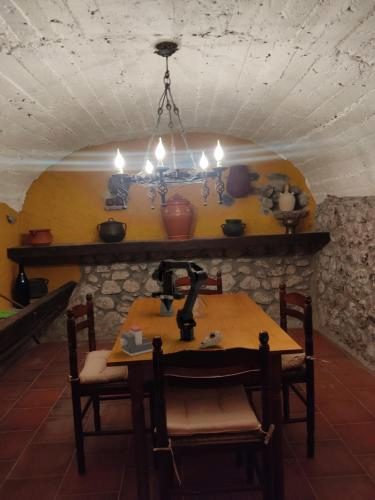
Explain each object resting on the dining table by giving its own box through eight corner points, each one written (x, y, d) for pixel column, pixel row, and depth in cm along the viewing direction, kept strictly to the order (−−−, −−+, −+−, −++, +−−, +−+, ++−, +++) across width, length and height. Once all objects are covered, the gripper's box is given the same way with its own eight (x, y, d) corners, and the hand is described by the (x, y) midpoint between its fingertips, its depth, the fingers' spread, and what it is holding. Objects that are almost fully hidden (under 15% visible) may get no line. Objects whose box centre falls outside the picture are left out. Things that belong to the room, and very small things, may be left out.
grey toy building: (146, 343, 209) (145, 327, 209) (156, 348, 201) (155, 331, 200) (122, 348, 202) (121, 332, 201) (131, 353, 194) (130, 337, 193)
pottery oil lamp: (195, 345, 206) (195, 331, 205) (217, 342, 210) (217, 328, 210) (202, 350, 198) (202, 336, 197) (225, 347, 202) (224, 333, 202)
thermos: (157, 314, 276) (155, 261, 273) (175, 313, 277) (173, 261, 274) (158, 317, 267) (156, 263, 264) (176, 316, 268) (174, 262, 266)
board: (146, 345, 209) (146, 343, 209) (156, 350, 201) (156, 348, 201) (122, 350, 202) (122, 348, 202) (131, 356, 194) (131, 353, 194)
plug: (136, 346, 204) (135, 325, 203) (142, 349, 199) (141, 328, 198) (119, 350, 199) (118, 329, 198) (124, 353, 194) (123, 331, 193)
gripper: (189, 281, 228) (190, 309, 229) (161, 279, 237) (162, 306, 239) (179, 284, 218) (180, 313, 219) (150, 282, 228) (151, 310, 229)
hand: (168, 310), depth 227 cm, fingers closed
